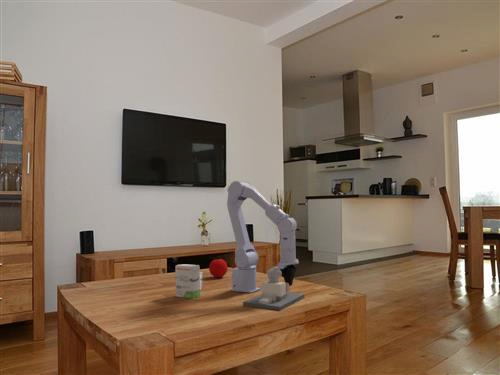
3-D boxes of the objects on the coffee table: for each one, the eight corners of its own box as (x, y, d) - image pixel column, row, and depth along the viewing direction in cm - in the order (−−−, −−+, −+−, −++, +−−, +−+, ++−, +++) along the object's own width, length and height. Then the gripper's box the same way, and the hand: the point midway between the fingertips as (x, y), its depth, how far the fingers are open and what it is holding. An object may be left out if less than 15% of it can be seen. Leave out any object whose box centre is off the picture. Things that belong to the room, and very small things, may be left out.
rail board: (243, 305, 125) (242, 296, 125) (270, 293, 142) (270, 285, 142) (280, 310, 118) (280, 300, 118) (304, 297, 135) (304, 289, 135)
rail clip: (276, 290, 136) (276, 282, 136) (278, 289, 138) (278, 281, 138) (287, 291, 134) (286, 283, 134) (289, 290, 135) (289, 282, 136)
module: (261, 298, 129) (261, 281, 130) (266, 296, 133) (266, 279, 133) (280, 300, 125) (280, 283, 126) (285, 298, 129) (285, 281, 129)
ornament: (210, 279, 174) (209, 258, 174) (208, 276, 183) (208, 256, 183) (229, 278, 176) (228, 257, 176) (226, 275, 184) (226, 255, 185)
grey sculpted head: (281, 283, 161) (281, 267, 161) (265, 283, 162) (265, 267, 163) (283, 281, 167) (282, 265, 167) (267, 280, 168) (267, 265, 169)
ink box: (200, 296, 140) (200, 264, 141) (192, 299, 136) (192, 266, 136) (183, 293, 144) (183, 263, 145) (174, 296, 140) (174, 265, 141)
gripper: (289, 251, 133) (290, 290, 132) (305, 248, 145) (305, 282, 144) (272, 250, 136) (273, 288, 136) (288, 247, 149) (289, 281, 148)
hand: (288, 285), depth 140 cm, fingers closed
